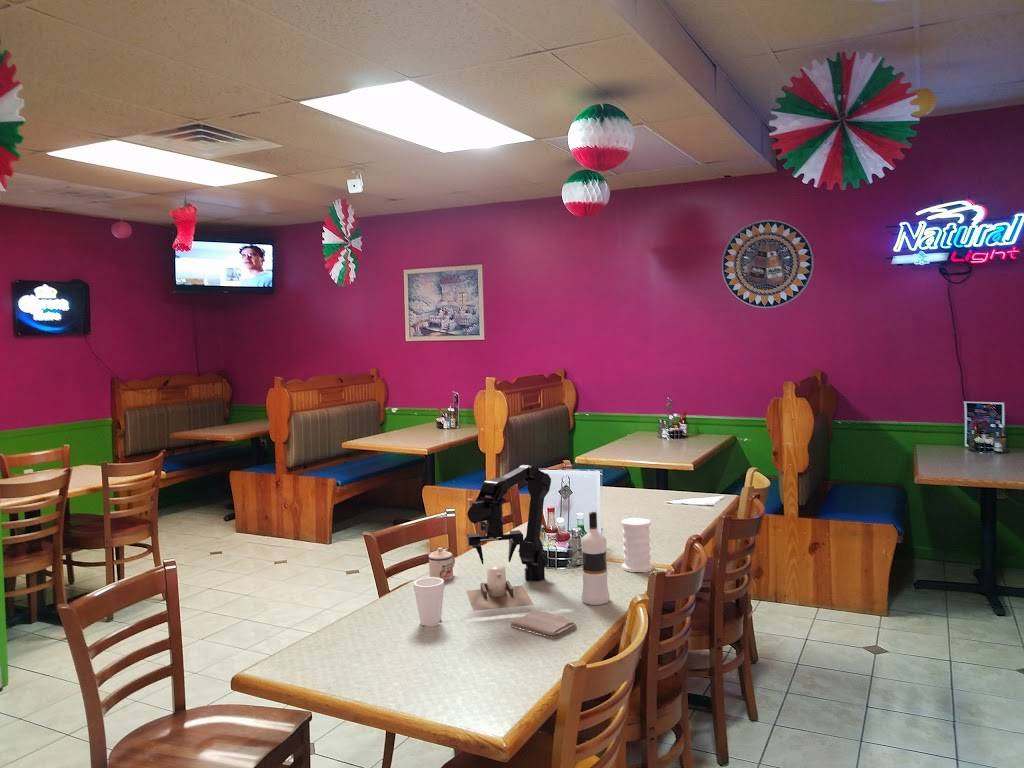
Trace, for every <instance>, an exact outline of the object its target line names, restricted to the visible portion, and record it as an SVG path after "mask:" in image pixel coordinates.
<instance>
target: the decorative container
mask: <svg viewBox="0 0 1024 768" xmlns="http://www.w3.org/2000/svg"><path fill="white" fill-rule="evenodd" d="M651 522H652V521H651V520H650V519H648V518H643V517H629V518H624V519H622V520H621V521H620V524H621V526H622V527H623V530H622V535H623V538H622V542H623V547H622V550H623V560H624V562H623V563H622V564H621V569H622V571H624V570H626V571H630V572H629V573H631V572H645V573H649V572H651V571H653V570H652V569H654V564H653V563H652V562H651V561H650V560H651V558H652V557H651V554H650V552H651V545H650V543H651V539H650V534H651V531H650V530H651V529H649V528H650V526H651V525H652V523H651ZM649 570H650V571H649ZM626 571H625V572H626ZM648 571H649V572H648Z"/></svg>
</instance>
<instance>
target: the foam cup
mask: <svg viewBox="0 0 1024 768" xmlns="http://www.w3.org/2000/svg"><path fill="white" fill-rule="evenodd" d="M444 589H445V580H443V579H441V578H437V577H430V576H429V577H422V578H419V579H416V580H415V581H413V592H414V594H415V599H416V606H417V611H418V618H419V622H420V625H421V624H422V626H423V625H425V626H424V627H434V626H433V625H435V626H438V625H439V623H440V624H441V622H442V621H441V620H442V615H443V613H442V612H443V601H444ZM437 624H438V625H437Z"/></svg>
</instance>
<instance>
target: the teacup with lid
mask: <svg viewBox="0 0 1024 768" xmlns="http://www.w3.org/2000/svg"><path fill="white" fill-rule="evenodd" d="M427 559H428V567H429V577H437V578H441V579H443V580H444V581H451V580H453V578H454V569H453V568H454V567H455V564H456V557H455V556H453V553H452V552H450V551H446V549H445V550H444V548H443V547H437V550H435V551H433V552H432V553H429V555H428V557H427Z"/></svg>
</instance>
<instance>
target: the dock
mask: <svg viewBox="0 0 1024 768" xmlns="http://www.w3.org/2000/svg"><path fill="white" fill-rule="evenodd" d="M466 594H467V597H468V601H469V602H470V605H471V609H472V611H483V610H492V609H493V610H494V609H501V608H503V609H505V608H513V607H523V606H532V605H533V606H534V602H533V601H532V599H531V598H530V596H529V594H528V592H527V591H526V589H525V586H524V585H512V584H511V582H510V581H509V580H506V594H505V595H503V596H499V597H493V596H489V595H488V587H487V582H480V588H479V589H469V590H466Z"/></svg>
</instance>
